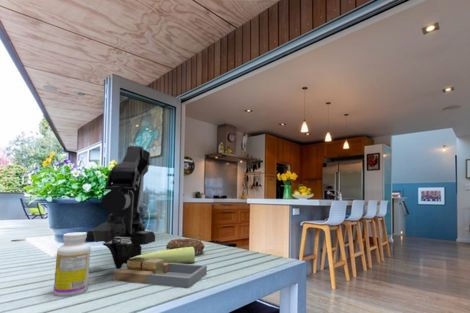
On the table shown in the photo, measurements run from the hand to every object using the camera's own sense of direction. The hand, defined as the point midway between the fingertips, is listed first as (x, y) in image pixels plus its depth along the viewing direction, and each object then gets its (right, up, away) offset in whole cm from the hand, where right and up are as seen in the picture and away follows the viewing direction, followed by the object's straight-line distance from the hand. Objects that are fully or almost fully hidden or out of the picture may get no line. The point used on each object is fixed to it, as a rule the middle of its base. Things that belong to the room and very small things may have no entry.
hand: (118, 268), depth 77 cm
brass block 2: (+10, -1, -3) cm, 11 cm away
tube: (+19, -1, +13) cm, 23 cm away
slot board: (+8, -1, -2) cm, 8 cm away
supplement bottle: (-5, 0, -14) cm, 15 cm away
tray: (+17, -1, -5) cm, 18 cm away
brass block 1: (+6, -1, -2) cm, 6 cm away
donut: (+14, -5, +26) cm, 30 cm away
